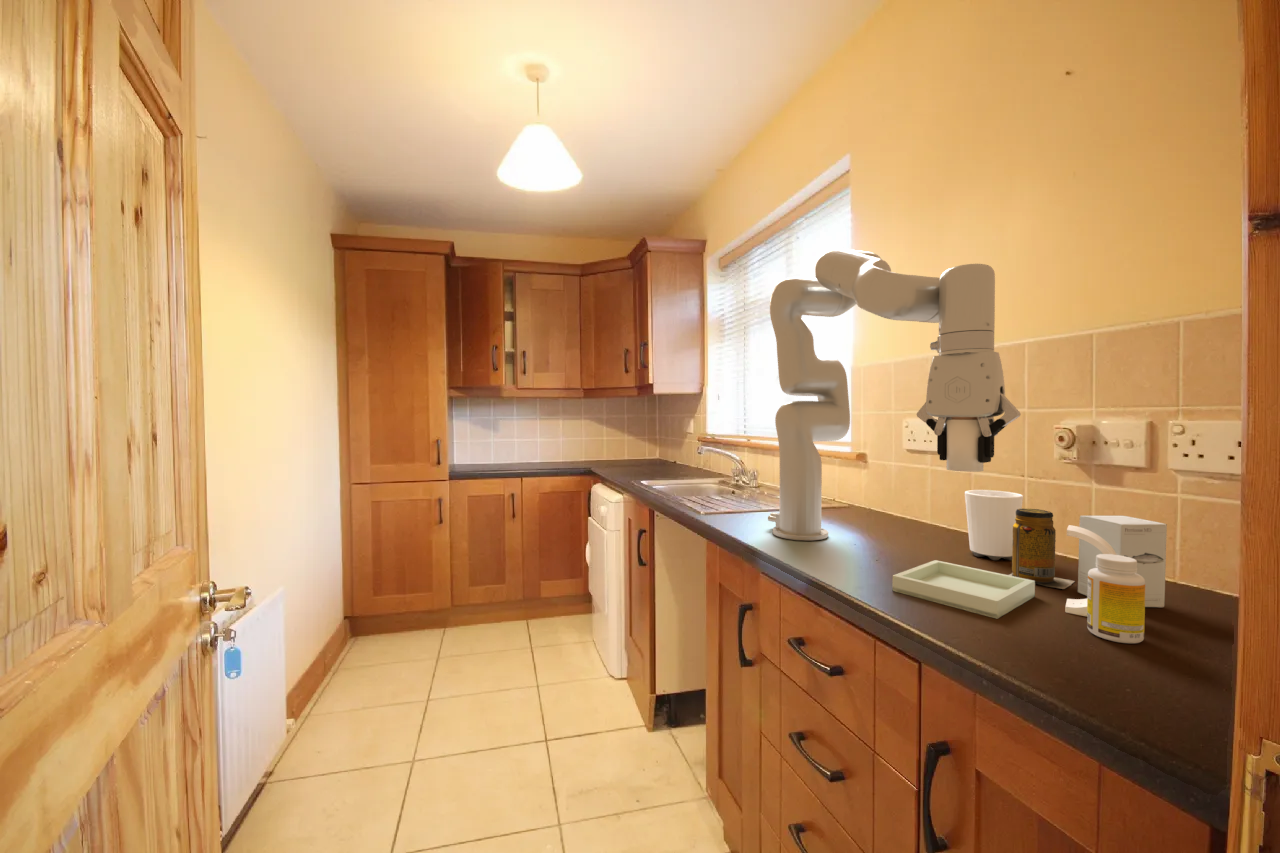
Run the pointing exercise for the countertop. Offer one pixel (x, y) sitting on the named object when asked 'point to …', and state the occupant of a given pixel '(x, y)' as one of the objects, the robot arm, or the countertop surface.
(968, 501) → the cup
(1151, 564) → the supplement box
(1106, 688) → the countertop surface
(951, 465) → the shaker
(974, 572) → the tray
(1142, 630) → the supplement bottle
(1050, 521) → the condiment
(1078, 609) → the headphone stand
